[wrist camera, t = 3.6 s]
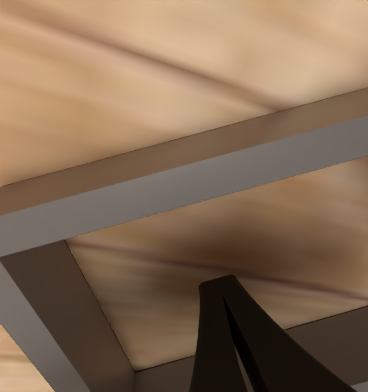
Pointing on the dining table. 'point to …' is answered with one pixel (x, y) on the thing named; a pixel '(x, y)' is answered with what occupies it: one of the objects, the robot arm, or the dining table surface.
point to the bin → (146, 206)
